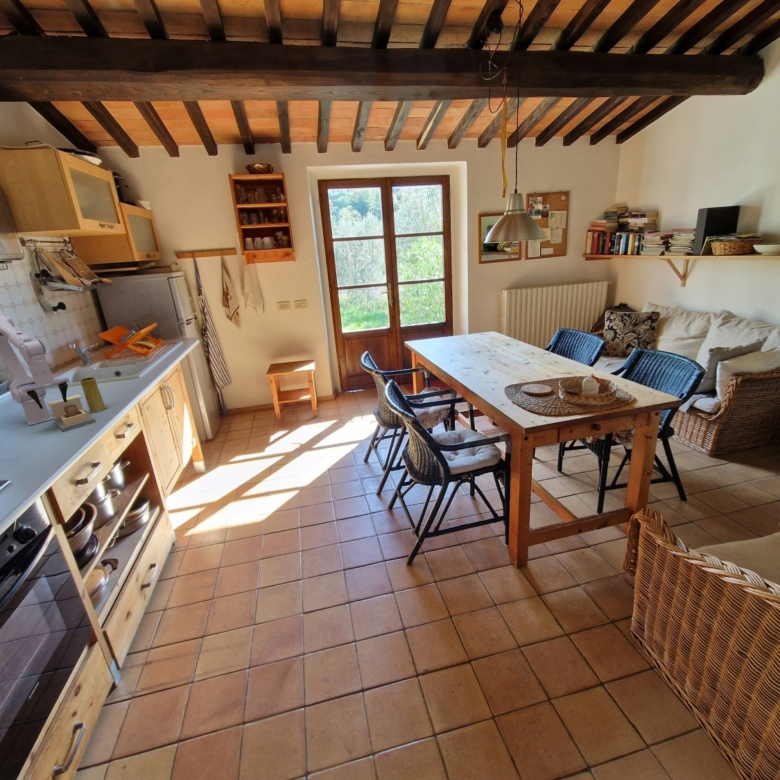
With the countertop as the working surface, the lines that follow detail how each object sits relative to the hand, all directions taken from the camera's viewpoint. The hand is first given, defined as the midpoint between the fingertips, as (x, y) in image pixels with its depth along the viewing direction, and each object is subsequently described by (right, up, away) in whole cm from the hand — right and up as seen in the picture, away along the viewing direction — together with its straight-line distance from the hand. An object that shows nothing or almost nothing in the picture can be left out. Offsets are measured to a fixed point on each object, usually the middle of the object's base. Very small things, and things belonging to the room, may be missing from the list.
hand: (53, 405), depth 161 cm
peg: (+5, -6, +5) cm, 9 cm away
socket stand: (+3, -7, +7) cm, 10 cm away
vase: (+4, -3, +19) cm, 19 cm away
